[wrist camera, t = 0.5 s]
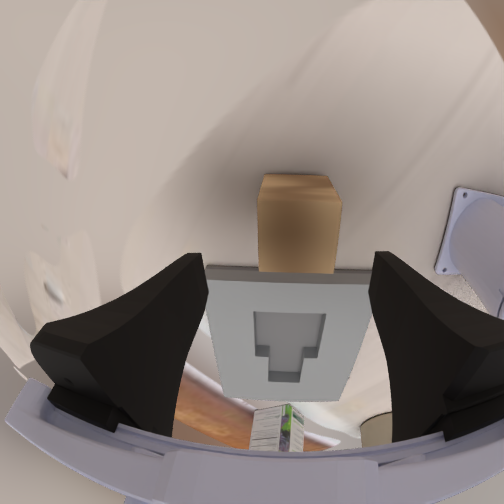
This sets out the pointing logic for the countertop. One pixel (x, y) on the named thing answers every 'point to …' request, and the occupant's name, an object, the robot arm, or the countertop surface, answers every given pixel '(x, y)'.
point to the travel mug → (377, 431)
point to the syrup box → (277, 430)
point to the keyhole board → (286, 331)
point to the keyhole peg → (298, 224)
